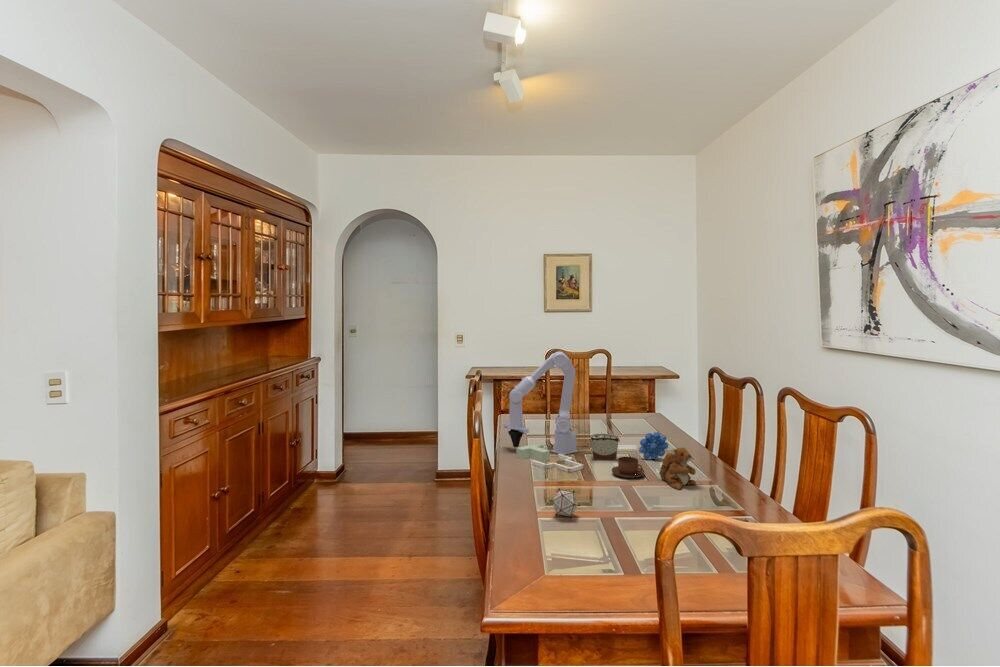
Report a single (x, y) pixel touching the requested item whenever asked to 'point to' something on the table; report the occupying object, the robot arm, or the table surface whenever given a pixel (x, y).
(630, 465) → the cup and saucer
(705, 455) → the table surface
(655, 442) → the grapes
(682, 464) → the stuffed squirrel
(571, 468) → the T socket
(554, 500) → the game die
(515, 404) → the robot arm
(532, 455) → the T block
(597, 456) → the food container
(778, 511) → the table surface
